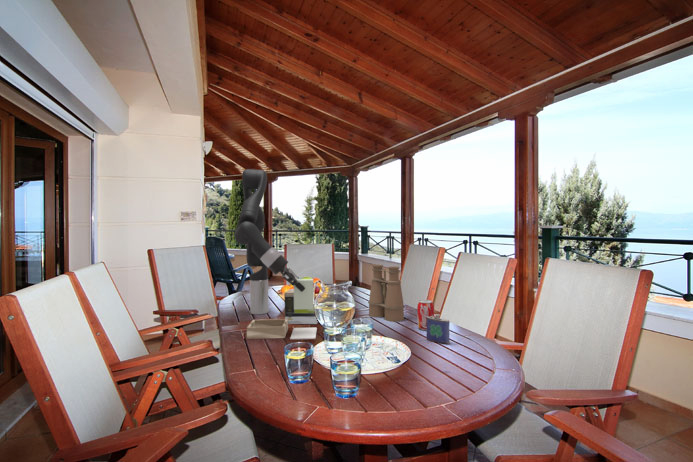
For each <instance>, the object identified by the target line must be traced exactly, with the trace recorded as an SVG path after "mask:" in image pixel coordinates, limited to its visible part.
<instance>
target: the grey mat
mask: <svg viewBox="0 0 693 462" xmlns="http://www.w3.org/2000/svg"><path fill="white" fill-rule="evenodd" d="M317 330H318V328H317V327H294V328H293V329H292V332H291V335H290V337H289V339H290V340H316V338H317V332H318V331H317Z"/></svg>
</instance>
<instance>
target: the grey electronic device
mask: <svg viewBox="0 0 693 462" xmlns="http://www.w3.org/2000/svg"><path fill="white" fill-rule="evenodd" d="M284 319H288V325H318V323H319V321H317V319H316V316H315V313H314V308H313V309H295V310H294V288H290V289H287V290H286V291H285V292H284Z"/></svg>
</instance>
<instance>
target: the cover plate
mask: <svg viewBox="0 0 693 462" xmlns="http://www.w3.org/2000/svg"><path fill="white" fill-rule="evenodd" d="M297 280H298V281H299V282H300V283H301V284H302V285H303V286H304V287H305V290H304V291H303V292H301V291H300V290H299V289H298V288H297V287H296V286H293V289H294V310H295V309H313V308H314V304H313V292H314V289H315V288H314V278H304V279H302V278H301V279H300V278H299V279H297Z"/></svg>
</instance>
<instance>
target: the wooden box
mask: <svg viewBox="0 0 693 462" xmlns="http://www.w3.org/2000/svg"><path fill="white" fill-rule="evenodd" d="M288 330H289V324H288V319H285V318H279V319H278V318H276V319H275V318H273V319H270V318H269V319H267V318H266V319H252V321H251V322H250V323H249V324H248V325H247V326H246V339H247V340H254V339H255V340H257V339H258V340H259V339H285V338H286V336H287V333H288Z"/></svg>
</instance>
